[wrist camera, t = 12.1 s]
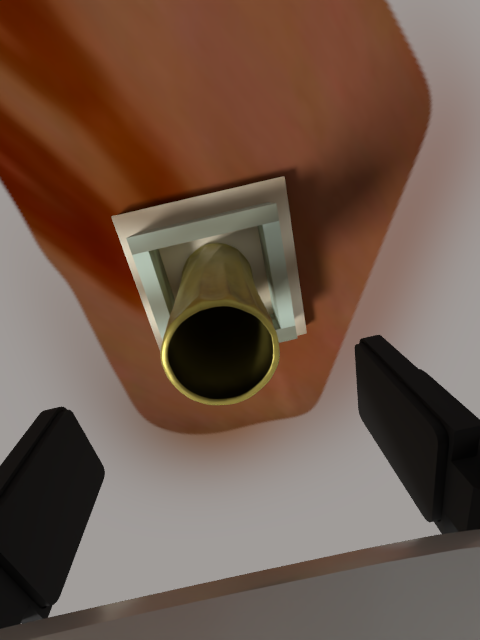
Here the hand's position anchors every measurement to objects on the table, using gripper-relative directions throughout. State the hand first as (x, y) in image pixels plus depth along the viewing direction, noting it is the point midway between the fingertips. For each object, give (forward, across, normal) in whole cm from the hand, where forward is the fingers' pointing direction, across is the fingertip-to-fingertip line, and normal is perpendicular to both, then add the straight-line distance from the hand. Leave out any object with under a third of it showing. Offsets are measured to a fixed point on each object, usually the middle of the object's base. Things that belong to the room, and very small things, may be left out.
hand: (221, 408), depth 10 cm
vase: (+18, 0, +1) cm, 18 cm away
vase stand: (+19, 0, +1) cm, 19 cm away
